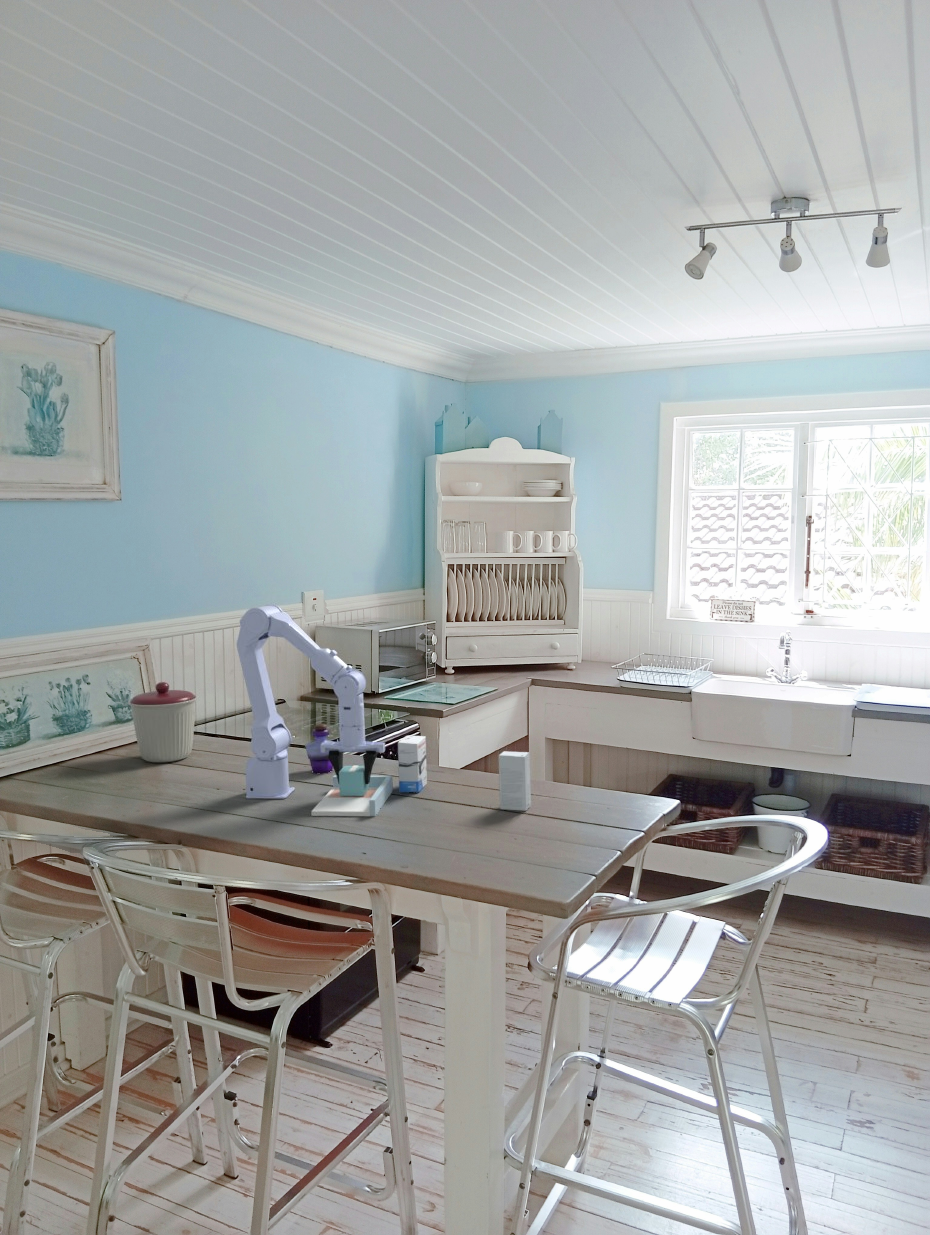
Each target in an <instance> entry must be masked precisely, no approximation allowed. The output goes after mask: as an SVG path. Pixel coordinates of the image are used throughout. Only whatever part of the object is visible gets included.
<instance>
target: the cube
mask: <svg viewBox="0 0 930 1235" xmlns="http://www.w3.org/2000/svg"><path fill="white" fill-rule="evenodd" d="M339 787H340V796H364V795H365V794H366V792H367V791H368V790H369V784H365V767H364V765H356V764H355V765H343V768H342V769H341V770H340V771H339Z"/></svg>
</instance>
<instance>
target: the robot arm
mask: <svg viewBox="0 0 930 1235" xmlns="http://www.w3.org/2000/svg"><path fill="white" fill-rule="evenodd" d="M239 625H240V627H239V633H238V636H237V641H236V649H237V653H238V658H239V662H240V665H241V670H242V675H243V678H244V682H245V683H244V684H245V686H246V691H247V694H248V699H249V702H250V707H251V712H252V714H253V722H252V725H251V727H250V734H251V741H250V749H251V752H252V754H253V755H254V756H251V757H248V759H247V760H246V763H245V764H246V765H245V784H246V785H245V786H246V789H245V790H246V796H245V799H281V800H282V799H286V798H287V797H289V795H291V794H292V793H293V791H295V790H296V787H294V786H293V787H292V786H291V787H290V781H289V780H290V777H289V775H290V774H289V755H288V748H289V746H291V742H292V735H291V731H290V730H289V729H288V728H287V726H286V724H285V721H284V718H283V717H282V716H281V715H280V714H279V713H278V712H277V706H276V702H275V699H274V695H273V690H272V686H271V682H270V676H269V673H268V669H267V665H266V661H265V657H264V653H263V652H264V651H263V647H264V646H265V644H266V642H267V641H268V640H269V638H270V637H274V638H283V639H285V640H286V641H287V642H288V643H290V644H291V645H293V647H294V648H296V649H297V650H299V651H300V653H302V654H304V655H305V656H306V657H307V658H308V659H310V664H311V666H310V667H311V668H312V669H313V670H314V671H315V672H316V673H317V674H319V675H320V676H321V677H322V678H323V679H324V680H325V681H326V682H327V683H328V684H329V685H331V686H333V688H332V689H333V692H334V694H335V696H337V698H338V726H339V730H338V731H339V741H333V742H327V743H322V744H321V753H325V752H329V755H328V759H329V761H330V762H331V764H332V766H333V768H332V769H334V772H335V775H336V776H337V779H338V784H339V771H340V770H341V769H342V768H343V767H344V762H343V760H344V753H364V754H363V755H362V758H363V766H364V767H365V784H369V782H370V776H372V770H373V766H374V764H375V761H376V758H377V756H378V754H380V753H381V754H382V753H383V754H384V752H385V751H386V742H379V741H378V742H377V741H366V730H365V729H366V727H365V704H364V703H365V702H364V693H363V692H364V691H365V689H366V687H367V679H366V676H365V675H364V674H363V673H362V671H360V670H358V669H353V666H351V665H350V664H349V665H348V664H347V663H346V662H344V661H343V660H342V659H341V658H340V657H339V656H338V654H339V653H338V652H337V650H335V649H332V650H331V649H330V648H321V647H320V646H319V645H318V644H317V642H315V641H314V640H313V639H312V638H311V637H310V636H309V635H308V634H307V633H306V632H305V631H304V630H303V629H302V628H301V627H300V626H299V625H298V624H297V623H296V622H295V621H294V620H293V618H292V617H291V616H290V615H289V613H288V612H285V611H283V610H282V608H281V607H280V606H279V605H276V604H272V603H271V604H266V605H264V606H259V607H251V608H249V609H248V610H247V611H246V612H245V613H244V615H242V616H241V618H240V619H239Z"/></svg>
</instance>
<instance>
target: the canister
mask: <svg viewBox="0 0 930 1235" xmlns="http://www.w3.org/2000/svg"><path fill="white" fill-rule="evenodd" d="M198 698H199V696H198V695H196V694H194V693H193V692H191V691H188V690H181V689H170V684H169V683H168V682H166V681H160V682H158V683H157V684H156V685H155V691H148V692H144V693H141V694H136V695H135V696H134V697H133V698H131V699H130V700H128V702H127V704H128V705H129V706H130V707H131V708H130V709H131V714H132V715H131V716H132V721H133V727H134V731H135V737H136V741H137V742H136V743H137V747H138V753H139V754H140V757H141V758H142V759H143V760H144V761H146V762H149V763H169V762H176V761H181V760H183V759H185V758H187V757H189V755H191V752H192V750H193V746H194V744H193V743H194V732H195V730H194V729H195V716H196V715H195V714H196V701H197V700H198Z"/></svg>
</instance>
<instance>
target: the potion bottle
mask: <svg viewBox="0 0 930 1235" xmlns="http://www.w3.org/2000/svg"><path fill="white" fill-rule="evenodd" d="M313 728H314V729H311V730H312V731H311V732H312V734H311V735H312V737H315V738H314V739H315V740H314V741H312V742H309V743H308V742H307V743H305V750H306V755H307V758H308V760H309V762H310V763H309V764H310V768H311V772H312V771H313V773H312V774H316V775H318V774H317V773H320V774H319V775H324V774H323V773H327V774H329V773H328V772H330V771H333V769H334V768H333V766H332V764H331V762H330V761H329V759H328V755H329V752H325V753H321V744H322V743H327V742H334V741H331V740H327V737H329V735H330V730H329V728H327V724H325V723H323V724H322V723H319V724H315V725H314V726H313ZM333 772H334V771H333ZM330 773H331V772H330Z"/></svg>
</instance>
